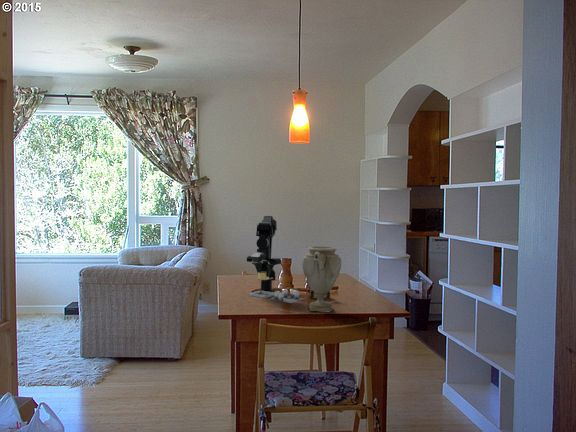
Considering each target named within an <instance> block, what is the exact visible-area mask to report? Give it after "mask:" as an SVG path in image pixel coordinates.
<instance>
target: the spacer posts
mask: <svg viewBox="0 0 576 432" xmlns="http://www.w3.org/2000/svg"><path fill="white" fill-rule="evenodd" d="M274 293H275V294H274V296H273V298H274V299H275V300H278V301H277V302H280V301H284V298H287V296H288V289H287V288H283V289H281V291H279V290H274ZM289 296H290V298H294V299H299V298H300V291H299V290H296V289H295V288H294V289H291V288H290V289H289Z"/></svg>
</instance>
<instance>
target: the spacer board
mask: <svg viewBox="0 0 576 432" xmlns="http://www.w3.org/2000/svg"><path fill="white" fill-rule="evenodd" d="M267 300H268V301H273V302H274V301H275V302H283V303H287V304H294V303H296V302H300V301H303V300H305V298H304V297H299V299H294V298H290V295H287V298H284V301H278V300H275V299H274V297H270V298H269V299H267Z"/></svg>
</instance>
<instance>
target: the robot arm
mask: <svg viewBox="0 0 576 432" xmlns="http://www.w3.org/2000/svg"><path fill="white" fill-rule="evenodd" d="M256 225H257V226H256V233H255V237H258V239H257V240H256V246H257V247H258V248H257V249H256V252H254V253H253V254H252V255H248V256H247V257H246V262H247V263H251V264H252V265H253V266H254V267H255V270H256V272H257V273H256V274H258V272H261V271H265V272H267V277H269V279H268V280H260V279H258V281H260V289H258V291H266V292H271V291H273V290H274V289H273V282H274V281H276V272H275V269H274V267H275V266H276V265H281V264H282V259H281V258H278V257H272V249H273V239H274V237H275V235H276V231H277V230H278V225H277V220H276V219H274V217H273V216H272V215H265V216H263V219H262V220H261V221H260V222H258V224H256Z"/></svg>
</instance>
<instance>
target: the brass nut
mask: <svg viewBox="0 0 576 432" xmlns="http://www.w3.org/2000/svg"><path fill="white" fill-rule="evenodd" d="M259 279H260V280H259ZM268 279H269V277H267V272H265V271H261V272H258V273H257V280H259V281H261V280H268Z"/></svg>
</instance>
